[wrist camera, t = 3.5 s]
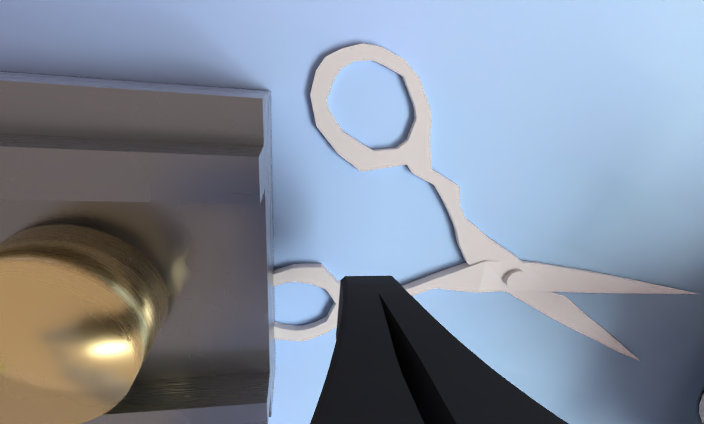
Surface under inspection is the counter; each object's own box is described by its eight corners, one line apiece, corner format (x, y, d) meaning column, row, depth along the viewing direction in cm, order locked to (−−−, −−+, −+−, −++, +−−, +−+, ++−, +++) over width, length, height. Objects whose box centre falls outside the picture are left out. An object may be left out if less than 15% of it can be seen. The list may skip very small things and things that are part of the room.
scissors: (273, -6, 8) (773, 234, 13) (276, 0, 9) (749, 225, 14) (180, 332, 11) (604, 414, 17) (188, 316, 12) (592, 400, 17)
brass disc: (179, 351, 9) (150, 420, 8) (17, 360, 9) (-57, 438, 7) (155, 223, 8) (111, 272, 6) (-46, 224, 7) (-161, 278, 5)
